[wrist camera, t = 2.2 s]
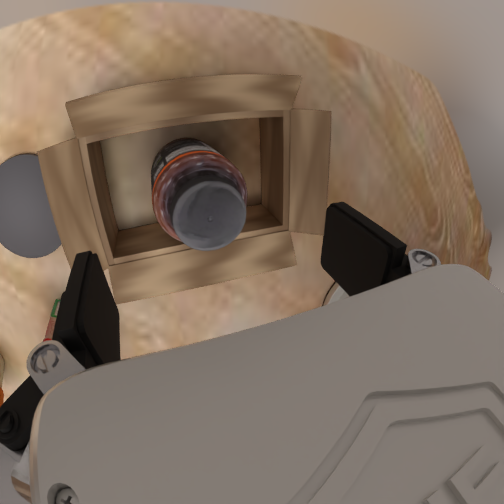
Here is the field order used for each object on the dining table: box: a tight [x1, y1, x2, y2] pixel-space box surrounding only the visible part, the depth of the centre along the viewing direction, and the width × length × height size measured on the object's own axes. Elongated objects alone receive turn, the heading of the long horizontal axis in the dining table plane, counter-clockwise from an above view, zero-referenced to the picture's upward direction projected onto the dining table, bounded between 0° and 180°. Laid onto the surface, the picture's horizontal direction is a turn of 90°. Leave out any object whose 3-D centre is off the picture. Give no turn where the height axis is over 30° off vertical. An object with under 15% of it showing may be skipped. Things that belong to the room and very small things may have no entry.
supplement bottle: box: [151, 138, 247, 251], centre depth 19 cm, size 6×6×11 cm
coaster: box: [0, 154, 62, 258], centre depth 20 cm, size 10×10×1 cm
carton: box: [37, 74, 331, 304], centre depth 21 cm, size 20×15×7 cm
